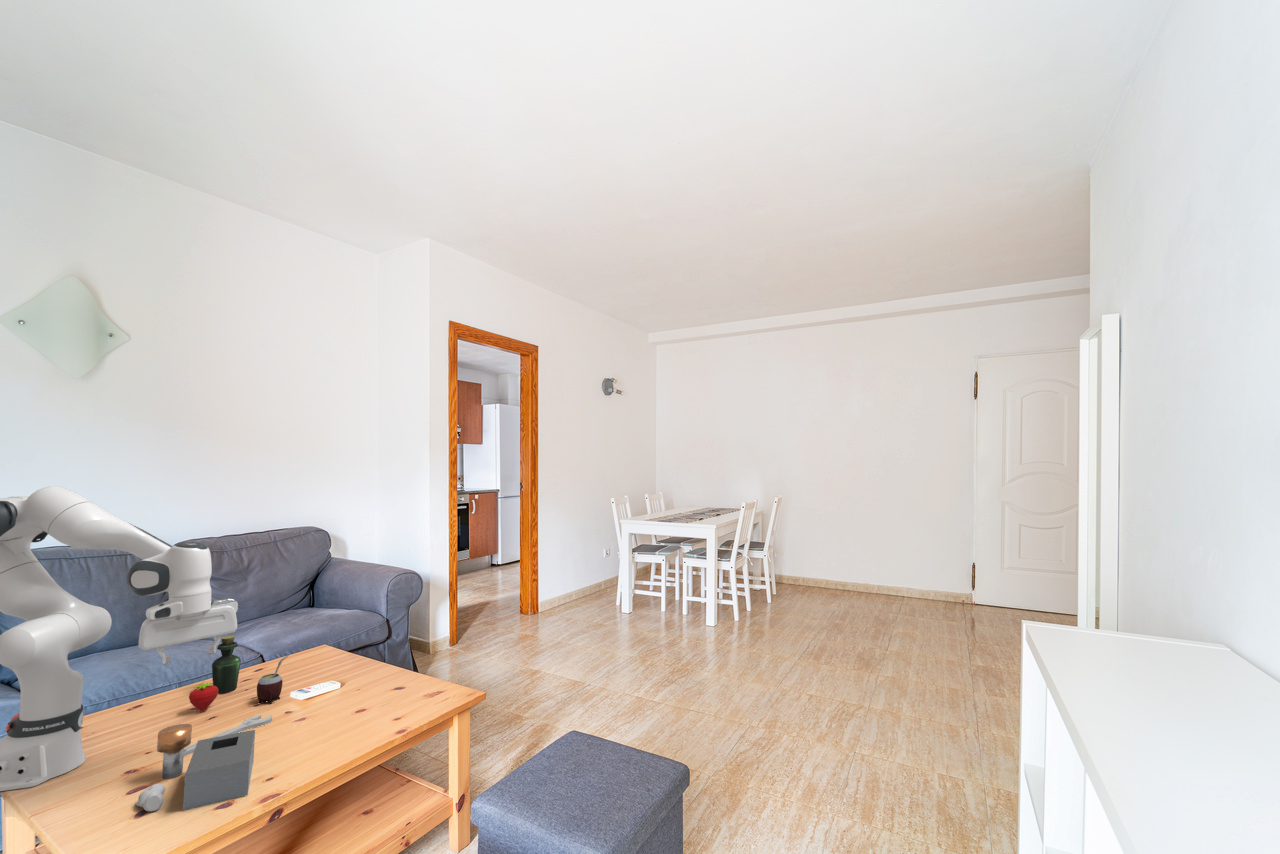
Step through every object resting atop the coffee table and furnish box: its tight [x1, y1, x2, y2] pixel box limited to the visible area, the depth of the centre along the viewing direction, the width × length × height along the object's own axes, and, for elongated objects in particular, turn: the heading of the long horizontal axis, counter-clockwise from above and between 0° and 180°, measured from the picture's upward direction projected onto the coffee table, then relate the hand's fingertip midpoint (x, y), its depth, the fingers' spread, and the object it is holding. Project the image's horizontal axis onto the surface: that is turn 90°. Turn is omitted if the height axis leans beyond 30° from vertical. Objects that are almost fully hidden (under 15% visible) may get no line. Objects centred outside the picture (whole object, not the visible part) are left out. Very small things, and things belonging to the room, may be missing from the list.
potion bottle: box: [211, 635, 242, 695], centre depth 195 cm, size 8×8×18 cm
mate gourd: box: [256, 654, 290, 705], centre depth 187 cm, size 8×8×15 cm
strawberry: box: [188, 681, 219, 712], centre depth 178 cm, size 6×8×10 cm
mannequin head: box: [135, 783, 166, 813], centre depth 129 cm, size 4×8×5 cm
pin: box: [156, 723, 193, 780], centre depth 142 cm, size 7×7×11 cm
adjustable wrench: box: [184, 714, 273, 757], centre depth 162 cm, size 25×6×2 cm, turn 153°
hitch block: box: [182, 729, 256, 812], centre depth 138 cm, size 12×18×8 cm, turn 31°
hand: (189, 658), depth 148 cm, fingers open, 8 cm apart
